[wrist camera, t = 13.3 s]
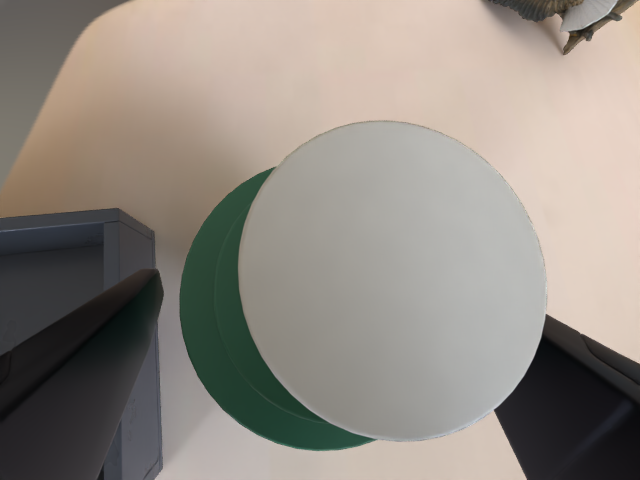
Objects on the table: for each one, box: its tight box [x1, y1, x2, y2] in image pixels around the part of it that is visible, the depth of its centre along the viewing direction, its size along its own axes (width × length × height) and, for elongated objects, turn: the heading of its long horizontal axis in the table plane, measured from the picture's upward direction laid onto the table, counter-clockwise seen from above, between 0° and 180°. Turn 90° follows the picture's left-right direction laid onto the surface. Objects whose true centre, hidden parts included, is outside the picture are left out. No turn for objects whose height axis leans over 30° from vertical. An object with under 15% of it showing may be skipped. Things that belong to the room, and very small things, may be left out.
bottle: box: [180, 121, 547, 451], centre depth 10 cm, size 6×6×15 cm
